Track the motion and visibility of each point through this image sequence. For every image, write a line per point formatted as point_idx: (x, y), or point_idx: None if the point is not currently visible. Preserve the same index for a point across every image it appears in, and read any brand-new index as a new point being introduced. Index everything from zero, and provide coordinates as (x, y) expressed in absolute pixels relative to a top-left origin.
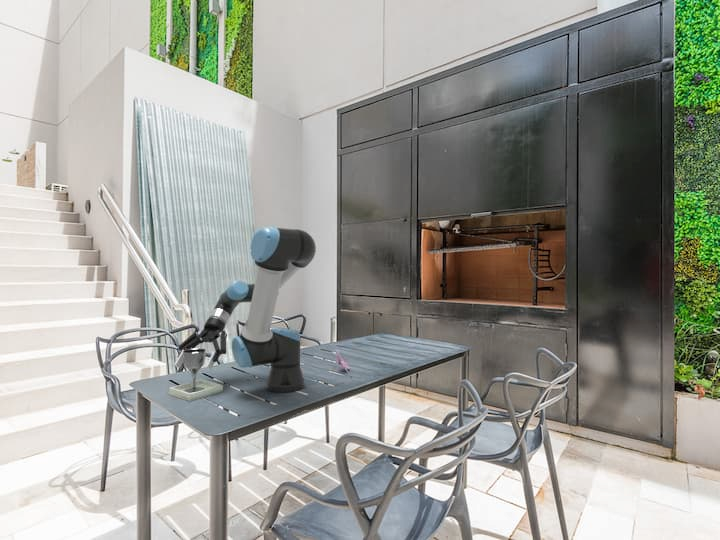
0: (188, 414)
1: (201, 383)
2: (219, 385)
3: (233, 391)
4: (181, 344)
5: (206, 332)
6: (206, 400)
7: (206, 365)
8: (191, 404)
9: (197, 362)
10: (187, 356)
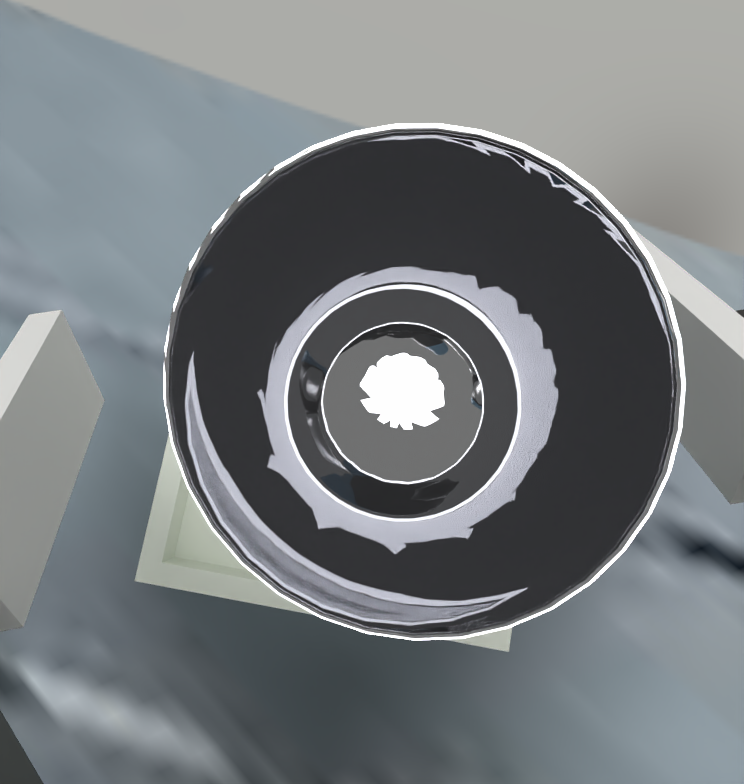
0: (21, 48)
1: None
2: (157, 554)
3: (65, 620)
4: None
5: None
6: (121, 323)
7: (49, 323)
8: (164, 205)
9: (249, 322)
10: (372, 168)
